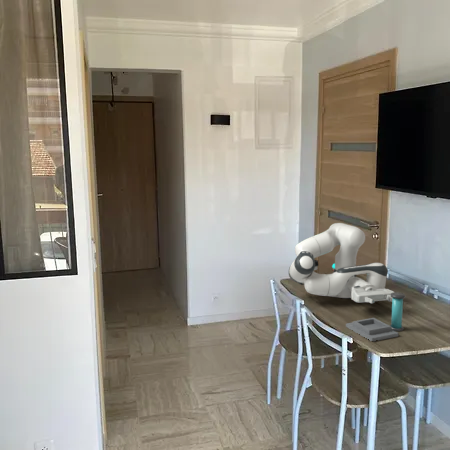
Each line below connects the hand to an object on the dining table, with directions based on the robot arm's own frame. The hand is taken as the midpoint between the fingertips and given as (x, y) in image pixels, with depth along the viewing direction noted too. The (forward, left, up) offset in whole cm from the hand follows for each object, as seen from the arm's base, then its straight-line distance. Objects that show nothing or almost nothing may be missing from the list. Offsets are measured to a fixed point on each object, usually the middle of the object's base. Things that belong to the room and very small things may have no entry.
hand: (382, 300), depth 219 cm
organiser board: (+10, -14, -9) cm, 19 cm away
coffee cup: (-60, -2, -9) cm, 61 cm away
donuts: (-62, +20, -9) cm, 66 cm away
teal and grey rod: (+12, -2, -9) cm, 15 cm away
